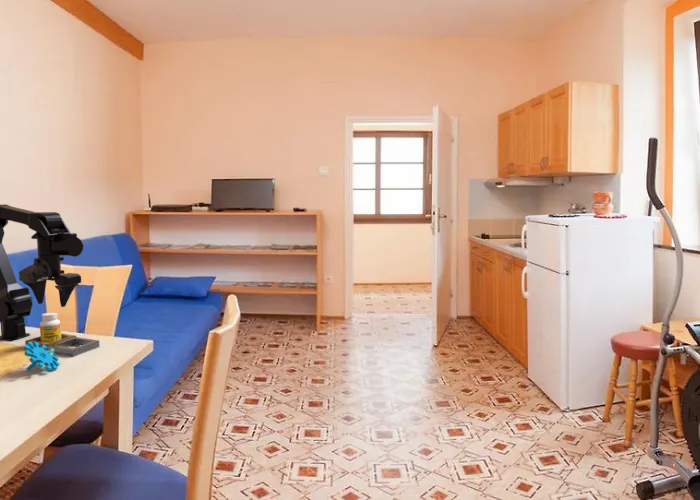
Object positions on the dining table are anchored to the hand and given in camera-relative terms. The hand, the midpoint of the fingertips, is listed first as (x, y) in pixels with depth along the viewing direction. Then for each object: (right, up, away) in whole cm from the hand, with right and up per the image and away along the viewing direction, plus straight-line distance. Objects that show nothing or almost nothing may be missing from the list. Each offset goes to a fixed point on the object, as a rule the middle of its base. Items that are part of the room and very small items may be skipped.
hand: (51, 305), depth 150 cm
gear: (+9, -15, -19) cm, 26 cm away
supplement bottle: (0, -12, 0) cm, 12 cm away
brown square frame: (0, -12, 0) cm, 12 cm away
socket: (+9, -13, -4) cm, 16 cm away
